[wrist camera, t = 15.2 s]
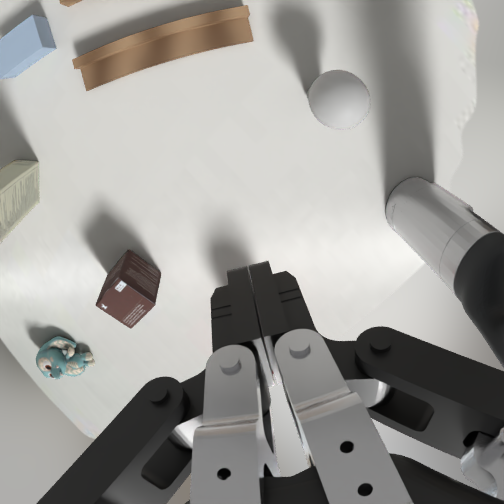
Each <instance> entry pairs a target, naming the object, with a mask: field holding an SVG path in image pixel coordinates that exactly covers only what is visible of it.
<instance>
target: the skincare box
mask: <svg viewBox="0 0 504 504" xmlns="http://www.w3.org/2000/svg"><path fill="white" fill-rule="evenodd" d="M38 203H39V162H38V161H26V160H14V161H13V162H11V163H10V164H8V165H7V166H5V167H4V168H2V169H1V170H0V244H1V243H2V242H3V240H4V239H5V238H6V237H7V236H8V235H9V234H10V233H11V231H12V230H13V229H14V228H15V227H16V226H17V225H18V224H19V223H20V222H21V221H22V219H23V218H24V217H25V216H26V215H27V214H28V213H29V212H30V211H31V210H32V209H33V208H34V207H35V206H36V205H37V204H38Z"/></svg>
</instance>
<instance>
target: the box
mask: <svg viewBox="0 0 504 504" xmlns="http://www.w3.org/2000/svg"><path fill="white" fill-rule="evenodd" d="M160 278H161V272H160V271H158V270H157V269H156V268H154V267H153V266H151V265H150V264H148V263H147V262H146V261H144V260H143V259H142V258H140V257H139V256H138V255H136V254H135V253H134V252H133V251H131V250H128V251H127V252H126V253H125V254H124V255H123V257H122V258H121V259H120V260H119V261H118V262H117V264H116V265H115V266H114V267H113V269H112V270H111V271H110V272H109V274H108V275H107V277H106V280H105V282H104V285H103V287H102V289H101V292H100V295H99V297H98V300H97V302H96V306H97V307H98V308H100V309H101V310H103V311H104V312H106V313H107V314H109V315H111V316H112V317H114V318H115V319H117V320H118V321H120V322H121V323H123V324H124V325H126V326H127V327H129V328H132V327H133V326H134V325H136V324H137V323H138V322H139V321H140V320H141V319H142V318H143V317H144V316H145V315H146V314H147V313H148V312H149V311H150V310H151V309H152V308H153V307H154V306H155V303H156V298H157V293H158V288H159V283H160Z"/></svg>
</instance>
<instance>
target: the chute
mask: <svg viewBox="0 0 504 504" xmlns="http://www.w3.org/2000/svg"><path fill="white" fill-rule="evenodd" d="M80 1H82V0H60V4H62V5H65V6H67V7H69V6H71V5H73V4H75V3H77V2H80ZM249 15H250V13H249V9H248V5H245V6H239V7H234V8H229V9H223V10H218V11H214V12H209V13H205V14H200V15H196V16H192V17H188V18H185V19H181V20H177V21H174V22H170V23H167V24H163V25H160V26H157V27H154V28H151V29H148V30H145V31H142V32H139V33H136V34H133V35H130V36H127V37H125V38H122V39H119V40H117V41H114V42H112V43H109V44H107V45H104V46H102V47H100V48H97V49H95V50H93V51H90V52H88V53H86V54H84V55H81V56H79V57H77V58H75V59H73V60H72V61H73V65H74V69H81V73H82V77H83V80H84V84H85V88H86V91H89V90H91V89H93V88H96V87H98V86H101V85H103V84H105V83H108V82H110V81H113V80H116V79H118V78H121V77H124V76H126V75H129V74H132V73H134V72H137V71H140V70H143V69H146V68H149V67H152V66H155V65H158V64H162V63H165V62H168V61H171V60H175V59H178V58H182V57H185V56H189V55H193V54H197V53H201V52H205V51H209V50H213V49H217V48H222V47H226V46H231V45H236V44H241V43H247V42H252V41H253V37H252V32H251V28H250V24H249V20H248V17H249Z"/></svg>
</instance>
